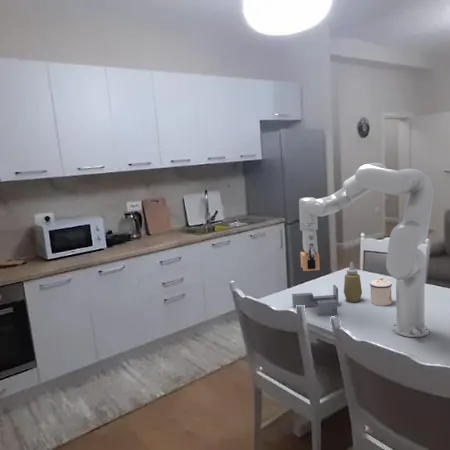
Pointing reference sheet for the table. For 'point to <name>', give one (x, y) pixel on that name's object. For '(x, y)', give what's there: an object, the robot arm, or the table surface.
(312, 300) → the rail
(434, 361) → the table surface
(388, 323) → the table surface
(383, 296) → the teacup with lid
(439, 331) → the table surface
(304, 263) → the block
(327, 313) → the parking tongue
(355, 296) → the squeeze bottle
